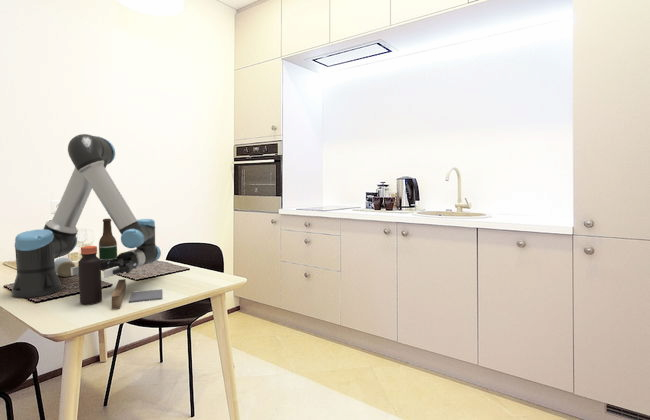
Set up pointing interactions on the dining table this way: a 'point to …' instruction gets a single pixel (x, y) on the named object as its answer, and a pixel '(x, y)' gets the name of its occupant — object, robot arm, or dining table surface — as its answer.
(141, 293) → the pad
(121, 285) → the door rail
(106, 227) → the beer bottle
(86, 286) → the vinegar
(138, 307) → the dining table surface
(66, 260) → the ceramic mug
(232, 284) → the dining table surface
